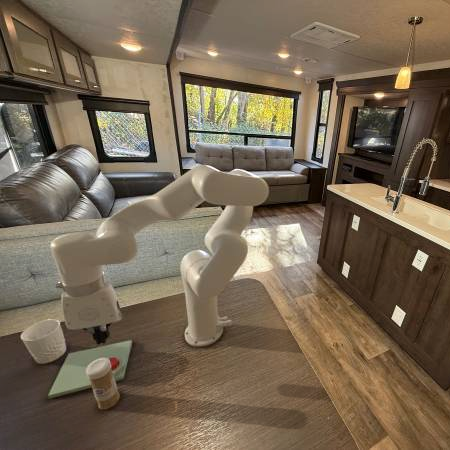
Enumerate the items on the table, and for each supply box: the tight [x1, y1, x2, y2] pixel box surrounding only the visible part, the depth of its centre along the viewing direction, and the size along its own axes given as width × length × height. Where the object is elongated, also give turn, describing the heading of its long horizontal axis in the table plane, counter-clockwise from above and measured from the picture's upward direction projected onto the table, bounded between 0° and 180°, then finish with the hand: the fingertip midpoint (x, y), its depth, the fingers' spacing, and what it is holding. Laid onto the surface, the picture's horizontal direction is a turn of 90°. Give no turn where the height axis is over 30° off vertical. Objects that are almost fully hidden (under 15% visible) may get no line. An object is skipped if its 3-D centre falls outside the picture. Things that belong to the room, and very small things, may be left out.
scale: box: [47, 339, 133, 399], centre depth 71 cm, size 16×13×3 cm
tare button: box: [109, 357, 118, 371], centre depth 69 cm, size 3×3×2 cm
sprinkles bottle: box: [86, 358, 121, 411], centre depth 61 cm, size 5×5×14 cm
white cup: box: [20, 318, 67, 365], centre depth 72 cm, size 8×8×10 cm
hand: (102, 339), depth 66 cm, fingers closed
